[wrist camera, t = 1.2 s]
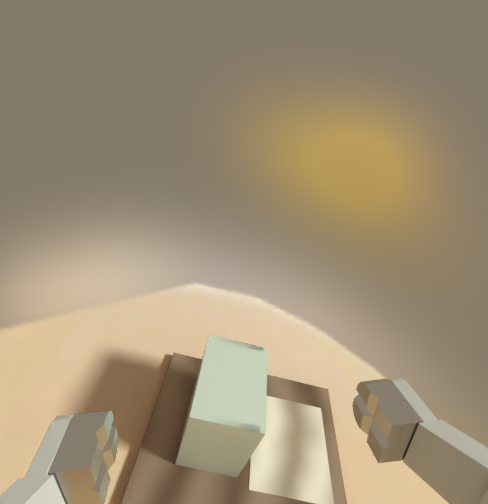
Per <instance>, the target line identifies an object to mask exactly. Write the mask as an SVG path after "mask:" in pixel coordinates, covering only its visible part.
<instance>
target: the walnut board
mask: <svg viewBox="0 0 488 504" xmlns="http://www.w3.org/2000/svg"><path fill="white" fill-rule="evenodd" d="M201 362H202V359H198V358H194V357H190V356H185V355H181V354H177V353H173V356H172V359H171V362H170V365H169V368H168V371H167V373H166V376H165V379H164V382H163V385H162V388H161V391H160V394H159V396H158V399H157V402H156V405H155V408H154V411H153V414H152V416H151V419H150V422H149V425H148V428H147V431H146V434H145V437H144V439H143V442H142V445H141V448H140V451H139V454H138V457H137V459H136V462H135V465H134V468H133V471H132V474H131V477H130V479H129V482H128V485H127V488H126V491H125V494H124V497H123V500H122V502H121V504H347V501H346V495H345V489H344V483H343V477H342V471H341V465H340V459H339V453H338V447H337V441H336V435H335V429H334V423H333V417H332V411H331V405H330V399H329V393H328V389H325V388H320V387H316V386H312V385H308V384H303V383H299V382H295V381H291V380H287V379H282V378H278V377H274V376H270V375H267V397H266V434H265V436H264V437H263V439H262V440H261V442H260V443H259V445H258V446H257V448H256V449H255V451H254V452H253V454H252V455H251V457H250V458H249V460H248V462H247V463H246V465H245V466H244V468H243V469H242V471H241V472H240V474H239V475H238V477H232V476H227V475H222V474H218V473H213V472H208V471H203V470H199V469H194V468H189V467H184V466H180V465H175V463H176V459H177V455H178V451H179V447H180V443H181V439H182V435H183V431H184V427H185V423H186V419H187V414H188V410H189V406H190V402H191V398H192V394H193V390H194V386H195V383H196V379H197V376H198V372H199V369H200V365H201Z"/></svg>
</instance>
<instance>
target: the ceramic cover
mask: <svg viewBox="0 0 488 504" xmlns="http://www.w3.org/2000/svg"><path fill="white" fill-rule="evenodd" d="M267 354H268V349H267V348H262V347H258V346H254V345H250V344H246V343H242V342H238V341H234V340H230V339H226V338H221V337H217V336H213V335H209V337H208V341H207V344H206V348H205V351H204V355H203V358H202V362H201V365H200V369H199V372H198V376H197V379H196V383H195V386H194V390H193V394H192V398H191V402H190V406H189V410H188V414H187V419H186V423H185V427H184V431H183V435H182V439H181V443H180V447H179V451H178V455H177V459H176V463H175V465H180V466H184V467H189V468H194V469H199V470H203V471H208V472H213V473H218V474H222V475H227V476H232V477H238V475H239V474H240V472H241V471H242V469H243V468H244V466H245V465H246V463H247V462H248V460H249V458H250V457H251V455H252V454H253V452H254V451H255V449H256V448H257V446H258V445H259V443H260V442H261V440H262V439H263V437H264V436H265V434H266V397H267Z"/></svg>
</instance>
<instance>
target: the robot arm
mask: <svg viewBox="0 0 488 504" xmlns="http://www.w3.org/2000/svg"><path fill="white" fill-rule="evenodd" d="M356 390H357V391H358V393H359V394H358V395H357V396H356V397H355V398H354V401H353V412H354V416H355V419H356V422H357V424H358V426H359V428H360V429H361V430H363V431H364V432H365V433H367V434H368V437H367V443H368V445H369V446H370V448H371V450H372V452H373V454H374V456H375V458H376V459H377V461H378V463H383V462H391V461H399V460H403V462H404V463H405V464H406V465H407V466H408V467H409V468H411V469H412V470H413V471H414V472H415V473H416V474H417V475H418V476H419V477H421V478H422V479H423V480H424V481H425V482H426V483H427V484H428V485H429V486H431V487H432V488H433V489H434V490H435V491H436V492H437V493H438V494H439V495H441V496H442V497H443V498H444V499H445V500H446V501H447V502H448V503H449V504H488V448H487V447H485V446H484V445H482V444H480V443H479V442H477V441H475V440H474V439H472V438H471V437H469V436H467V435H465V434H464V433H462V432H461V431H459V430H458V429H456V428H454V427H453V426H451V425H449V424H448V423H446V422H444V421H443V420H437V419H436V417H435V416H434V415H433V414H432V412H431V411H430V410H429V409H428V408H427V406H426V405H425V404H424V402H423V401H422V400H421V399H420V398H419V396H418V395H417V394H416V393H415V391H414V390H413V389H412V388H411V387H410V385H409V384H408V383H407V382H406V381H405V380H404V379H403V378H391V379H379V380H372V381H364V382H360V383H359V384H358V386H357V389H356ZM113 420H114V417H113V413H112V411H105V412H94V413H83V414H72V415H62V416H57V417H56V418H55V419H54V420H53V421H52V423H51V425H50V427H49V429H48V431H47V433H46V435H45V437H44V439H43V441H42V443H41V445H40V447H39V449H38V451H37V453H36V455H35V457H34V459H33V461H32V464H31V466H30V468H29V470H28V472H27V474H26V476H25V478H22V479H18V480H17V481H16V482H15V483H14V484H13V485H12V486H11V487H10V488H8V489H7V490H6V491H5V492H4V493H3V494H2V495H1V496H0V504H104V502H105V498H106V494H107V490H108V486H109V482H110V477H109V473H108V469H109V468H110V467H111V466H112V465H113V463H114V462H115V457H116V453H117V445H118V433H117V428H116V427H115V426H113V425H112V423H113Z"/></svg>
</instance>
